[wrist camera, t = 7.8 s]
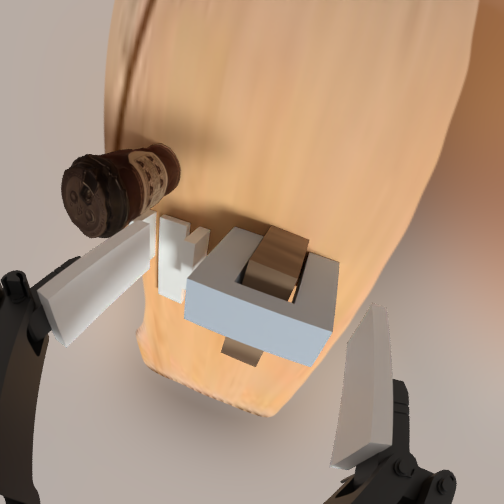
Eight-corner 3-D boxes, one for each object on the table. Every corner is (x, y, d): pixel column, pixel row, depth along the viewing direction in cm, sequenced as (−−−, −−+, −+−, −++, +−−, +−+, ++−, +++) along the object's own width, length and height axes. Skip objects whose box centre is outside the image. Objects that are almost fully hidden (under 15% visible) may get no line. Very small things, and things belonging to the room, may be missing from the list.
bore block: (234, 226, 32) (186, 278, 23) (339, 262, 30) (332, 332, 21) (227, 261, 35) (184, 318, 26) (324, 296, 33) (311, 367, 24)
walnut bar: (271, 224, 31) (249, 259, 24) (309, 239, 30) (297, 278, 24) (242, 311, 38) (220, 352, 32) (272, 324, 38) (255, 367, 31)
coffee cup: (184, 128, 28) (99, 147, 18) (198, 197, 32) (126, 246, 21) (129, 143, 31) (48, 169, 21) (143, 203, 35) (71, 246, 24)
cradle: (147, 208, 35) (129, 219, 32) (210, 229, 34) (194, 244, 30) (147, 283, 42) (133, 297, 39) (200, 306, 40) (187, 323, 37)
